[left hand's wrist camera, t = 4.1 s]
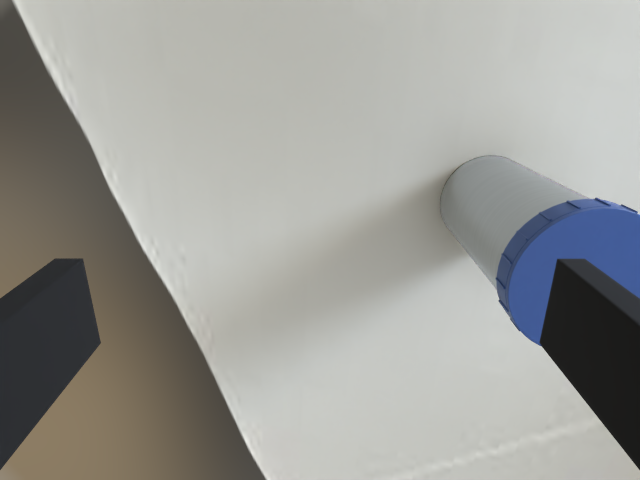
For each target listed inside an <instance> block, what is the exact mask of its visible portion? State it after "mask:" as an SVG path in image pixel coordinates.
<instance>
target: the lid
mask: <svg viewBox="0 0 640 480" xmlns="http://www.w3.org/2000/svg"><path fill="white" fill-rule="evenodd" d="M637 213H638V212H637V211H635V210H633V209H631V208H628V207H626V206H624V205H622V204H621V206H620V205H618V204H616V203H613V202H609V201H606V200H600V199H598V198H595V199H579V200H572V201H569V200H567V202H564V203H561V204H558V205H555V206H552V207H550V208H548V209H546V210H544V211H542V212H539V214H537V215H536V216H534V217H533V218H532V219H530V220H529V221H528V222H527V223H525V224H524V225H523V226H522V227H521V228H520V229H519V230H517V231H516V233H515V235H514V236H513V237H512V238H511V240H510V241H509V243H508V245H507V246H506V248H505V250H504V252H503V254H501V255H502V256H501V259H500V262H499V265H498V270H497V278H495V279H496V285H497V293H498V296H499V302H500V304H501V305H502V306H503V308H504V310H505V311H506V313H507V314H508V315H509V317H510V320H511V321H512V322H513V324H514V325H515V326H516V328H517V329H518V330H519V331H521V332H522V333H523V334H524V335H525V336H526V337H527V338H529V339H530V340H531V341H533V342H534V343H536V344H538V345H540V343H539V342H540V337H541V333H542V328H543V323H544V318H545V314H546V309H547V304H548V300H549V295H550V290H551V285H552V281H553V276H554V271H555V267H556V262H557V259H586V260H587V261H589V262H590V263H592V264H593V265H594V266H596V267H597V268H598V269H600V270H601V271H603V272H604V273H605V274H607V275H608V276H609V277H611V278H612V279H614V280H615V281H616V282H618V283H619V284H620V285H622V286H623V287H625V288H626V289H627V290H629V291H630V292H631V293H633V294H634V295H636V296H637V297H638V298H640V215H639V214H637ZM540 346H541V345H540Z"/></svg>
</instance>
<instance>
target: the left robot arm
mask: <svg viewBox="0 0 640 480" xmlns="http://www.w3.org/2000/svg"><path fill="white" fill-rule="evenodd" d="M100 343H101V342H100V338H99V333H98V328H97V323H96V318H95V314H94V309H93V304H92V300H91V295H90V290H89V285H88V281H87V276H86V272H85V267H84V262H83V259H54V260H53V261H51V262H50V263H48V264H47V265H46V266H44V267H43V268H42V269H40V270H39V271H37V272H36V273H35V274H33V275H32V276H31V277H29V278H28V279H26V280H25V281H24V282H22V283H21V284H20V285H18V286H17V287H15V288H14V289H13V290H11V291H10V292H9V293H7V294H6V295H5V296H3V297H2V298H0V470H1V468H2V467H3V466H4V465H5V463H6V462H7V461H8V460H9V458H10V457H11V456H12V454H13V453H14V452H15V451H16V449H17V448H18V447H19V446H20V444H21V443H22V442H23V441H24V439H25V438H26V437H27V436H28V434H29V433H30V432H31V430H32V429H33V428H34V427H35V425H36V424H37V423H38V422H39V420H40V419H41V418H42V417H43V415H44V414H45V413H46V412H47V410H48V409H49V408H50V406H51V405H52V404H53V403H54V401H55V400H56V399H57V398H58V396H59V395H60V394H61V393H62V391H63V390H64V389H65V388H66V386H67V385H68V384H69V382H70V381H71V380H72V379H73V377H74V376H75V375H76V374H77V372H78V371H79V370H80V369H81V367H82V366H83V365H84V363H85V362H86V361H87V360H88V358H89V357H90V356H91V355H92V353H93V352H94V351H95V350H96V348H97V347H98V346H99V345H100ZM539 343H540V345H541V346H542V347H543V348H544V350H545V351H546V352H547V353H548V355H549V356H550V357H551V358H552V360H553V361H554V362H555V364H556V365H557V366H558V367H559V369H560V370H561V371H562V372H563V374H564V375H565V376H566V377H567V379H568V380H569V381H570V382H571V384H572V385H573V386H574V388H575V389H576V390H577V391H578V393H579V394H580V395H581V396H582V398H583V399H584V400H585V401H586V403H587V404H588V405H589V406H590V408H591V409H592V410H593V412H594V413H595V414H596V415H597V417H598V418H599V419H600V420H601V422H602V423H603V424H604V425H605V427H606V428H607V429H608V430H609V432H610V433H611V434H612V436H613V437H614V438H615V439H616V441H617V442H618V443H619V444H620V446H621V447H622V448H623V449H624V451H625V452H626V453H627V454H628V456H629V457H630V458H631V460H632V461H633V462H634V463H635V465H636V466H637V467H638V468H639V470H640V298H638V297H637V296H636V295H634V294H633V293H631V292H630V291H629V290H627V289H626V288H625V287H623V286H622V285H620V284H619V283H618V282H616V281H615V280H614V279H612V278H611V277H609V276H608V275H607V274H605V273H604V272H603V271H601V270H600V269H598V268H597V267H596V266H594V265H593V264H592V263H590V262H589V261H587V260H586V259H557V262H556V267H555V271H554V276H553V281H552V285H551V290H550V295H549V300H548V304H547V309H546V314H545V318H544V323H543V328H542V333H541V337H540V342H539Z"/></svg>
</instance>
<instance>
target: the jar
mask: <svg viewBox="0 0 640 480" xmlns="http://www.w3.org/2000/svg"><path fill="white" fill-rule="evenodd" d="M579 199H589V198H587V197H585V196H583V195H581V194H579V193H577V192H575V191H573V190H571V189H569V188H567V187H565V186H563V185H561V184H559V183H557V182H555V181H553V180H551V179H549V178H547V177H545V176H543V175H541V174H538V173H536V172H534V171H532V170H530V169H528V168H526V167H524V166H522V165H520V164H518V163H516V162H514V161H512V160H510V159H508V158H505V157H501V156H482V157H478V158H475V159H473V160H470V161H468V162H466V163H465V164H463V165H462V166H460V167H459V168H458V169H457V170H456V171H455V172H454V173H453V174H452V175H451V176H450V178H449V179H448V180H447V182H446V184H445V186H444V188H443V191H442V194H441V200H440V210H441V215H442V218H443V221H444V223H445V224H446V226H447V227H448V229H449V230H450V231H451V233H452V234H453V235H454V236H455V238H456V239H457V240H458V241H459V243H460V244H461V245H462V247H463V248H464V249H465V250H466V252H467V253H468V254H469V255H470V257H471V258H472V259H473V260H474V262H475V263H476V264H477V266H478V267H479V268H480V269H481V271H482V272H483V273H484V274H485V276H486V277H487V278H488V279H489V281H490V282H491V283H492V285H493V286H494V287H495V288H496V290H497V285H496V279H495V278H497V270H498V265H499V262H500V259H501V256H502V255H501V254H503V252H504V250H505V248H506V246H507V245H508V243H509V241H510V240H511V238H512V237H513V236H514V235H515V233H516V231H517V230H519V229H520V228H521V227H522V226H523V225H524V224H525V223H527V222H528V221H529V220H530V219H532V218H533V217H534V216H536V215H537V214H539V212H542V211H544V210H546V209H548V208H550V207H552V206H555V205H558V204H561V203H564V202H567V200H569V201H572V200H579Z"/></svg>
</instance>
